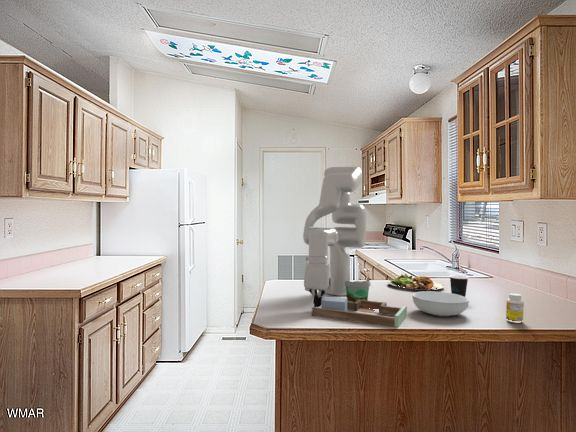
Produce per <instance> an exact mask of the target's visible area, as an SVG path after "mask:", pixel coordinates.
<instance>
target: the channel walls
mask: <svg viewBox="0 0 576 432" xmlns="http://www.w3.org/2000/svg"><path fill="white" fill-rule="evenodd" d="M387 303H388V302H382V301H377V300H375V301H373V300H368V301H366V300H358V301H356V302H355V303H354V302H347V311H340V310H332V309H324V308H321V307H314V306H313V307H311V317H318V318H326V319H333V320H340V321H349V322H357V323H363V324H370V323H371V324H372V325H378V324H379V325H378V326H385V325H386V326H387V327H395V316H393V315H396V314H397V312H398V311H399V310H400V309H401V308H402V307H396V306H388V305H387ZM361 308H370V309H379V313H382V314H379V313H378V314H379V315H378V314H372V313H364V312H363V313H362V312H358V310H360V309H361ZM385 314H391V315H390V316H389V315H385ZM395 328H396V327H395Z"/></svg>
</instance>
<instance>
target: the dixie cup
mask: <svg viewBox="0 0 576 432" xmlns="http://www.w3.org/2000/svg"><path fill="white" fill-rule="evenodd" d="M448 277H449V279H450V293H452V294H457V295H461V296H464V297H466V294H467V287H468V280H469V277H468V276H466V275H459V274H456V275H455V274H453V275H449V276H448Z"/></svg>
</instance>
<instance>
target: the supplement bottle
mask: <svg viewBox="0 0 576 432" xmlns="http://www.w3.org/2000/svg"><path fill="white" fill-rule="evenodd" d="M524 306H525V305H524V300H522V294H520V293H509V294H508V298H507V299H506V313H505V317H506V318H505V319H508V320H512V321H522V320H523V321H524V311H525V309H524Z"/></svg>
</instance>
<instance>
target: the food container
mask: <svg viewBox="0 0 576 432" xmlns="http://www.w3.org/2000/svg"><path fill="white" fill-rule="evenodd" d="M344 286H346V298H347V302H354V303H355V302H356V301H358V300H366V301H369V299H368V298H369V290H370V287H371V286H372V285H371V281H370V279H368V278H366V280H364V281H362V280H361V281H360V280H355V281H351V280H350V281H346V282H345V285H344Z"/></svg>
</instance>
